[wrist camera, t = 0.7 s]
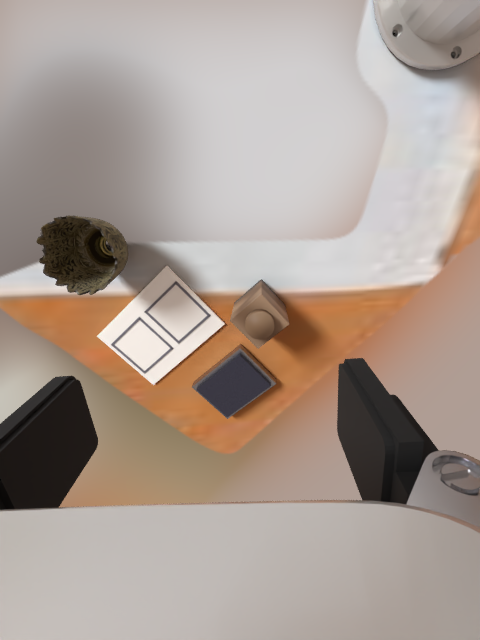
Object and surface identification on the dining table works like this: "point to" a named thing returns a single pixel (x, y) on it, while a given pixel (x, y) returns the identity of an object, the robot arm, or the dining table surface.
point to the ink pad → (234, 382)
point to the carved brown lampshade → (82, 253)
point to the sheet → (160, 326)
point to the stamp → (259, 314)
